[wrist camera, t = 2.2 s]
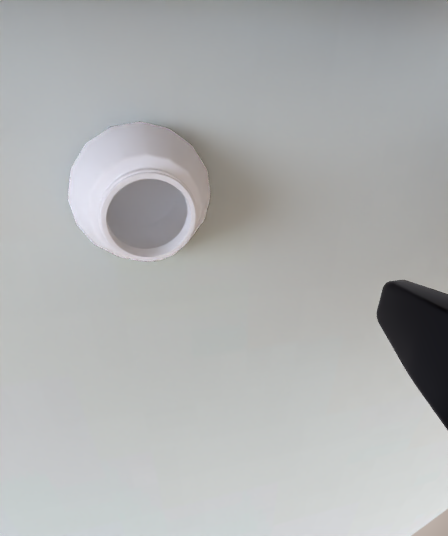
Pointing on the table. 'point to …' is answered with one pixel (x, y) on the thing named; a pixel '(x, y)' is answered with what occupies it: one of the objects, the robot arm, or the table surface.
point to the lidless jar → (139, 191)
